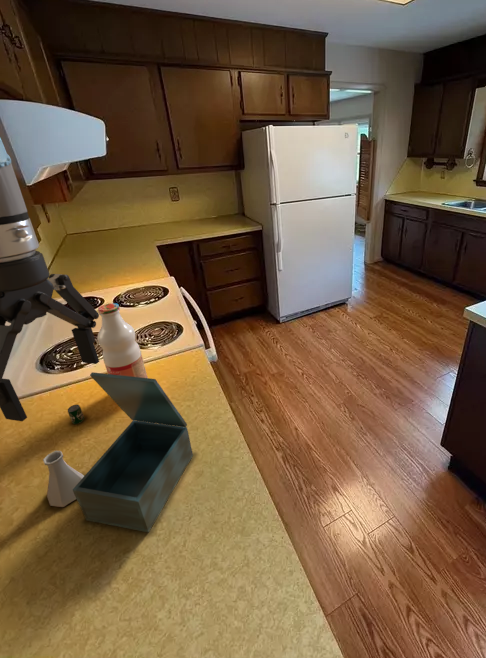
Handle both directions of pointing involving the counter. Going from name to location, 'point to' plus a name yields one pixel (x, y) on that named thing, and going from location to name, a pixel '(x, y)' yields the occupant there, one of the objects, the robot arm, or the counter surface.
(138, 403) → the lid
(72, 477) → the flask
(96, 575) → the counter surface
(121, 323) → the fruit juice
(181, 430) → the chest
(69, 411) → the beer can
